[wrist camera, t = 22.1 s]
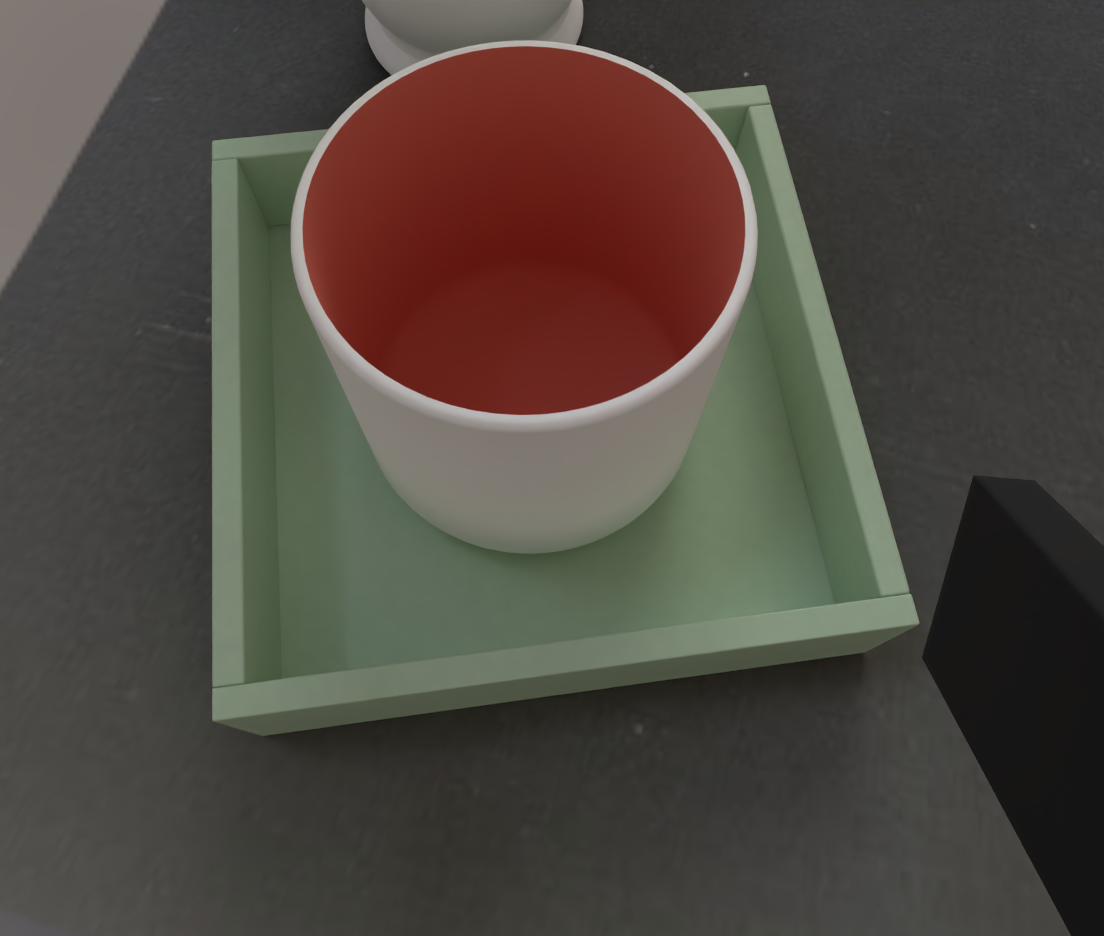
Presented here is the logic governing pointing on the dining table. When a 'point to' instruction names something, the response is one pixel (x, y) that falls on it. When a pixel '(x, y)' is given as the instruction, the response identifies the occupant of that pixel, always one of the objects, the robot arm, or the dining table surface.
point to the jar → (463, 26)
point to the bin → (512, 578)
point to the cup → (525, 284)
